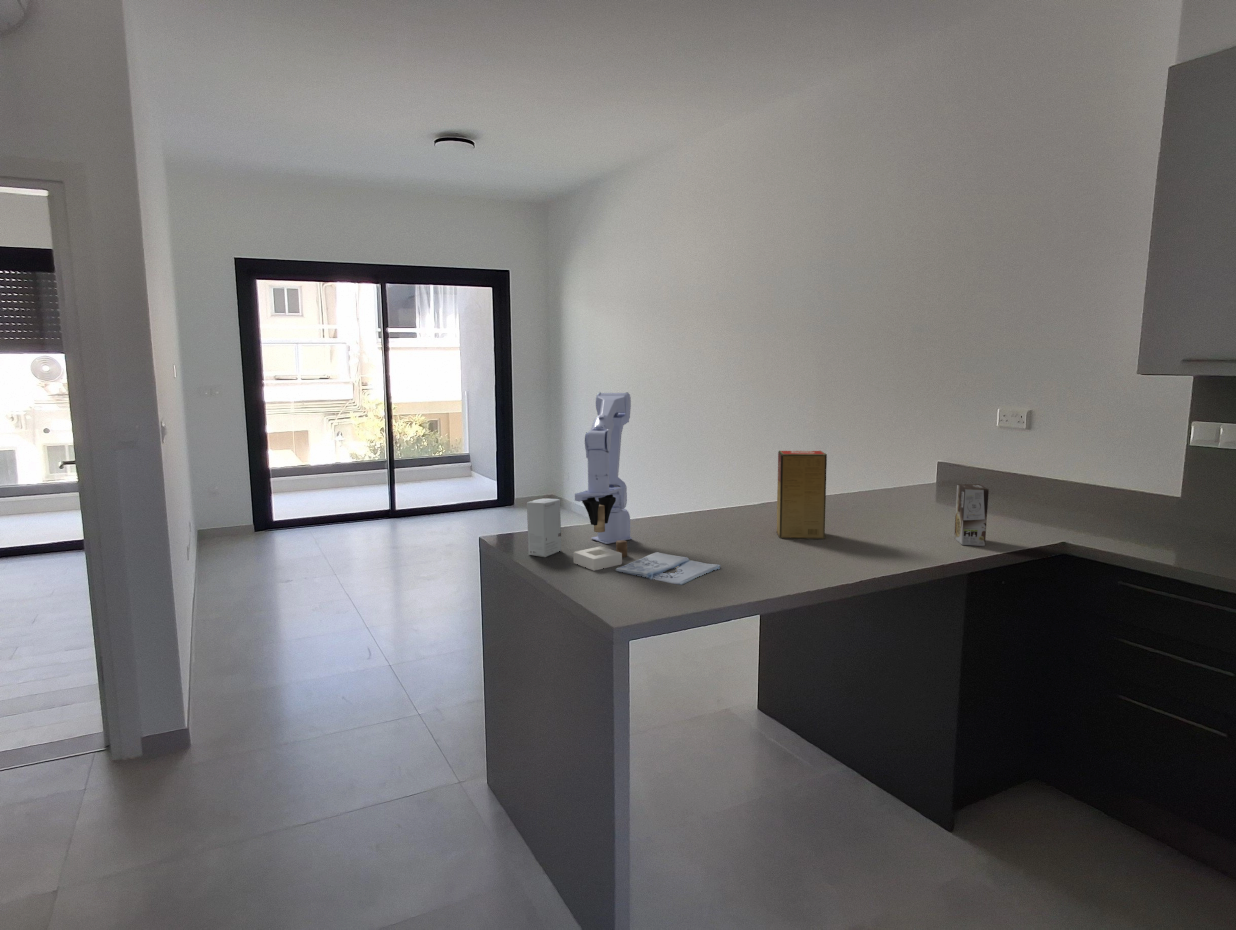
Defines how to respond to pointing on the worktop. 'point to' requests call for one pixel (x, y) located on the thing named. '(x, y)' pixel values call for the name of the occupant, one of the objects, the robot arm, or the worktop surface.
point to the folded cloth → (667, 568)
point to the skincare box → (544, 527)
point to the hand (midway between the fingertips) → (599, 523)
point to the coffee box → (971, 514)
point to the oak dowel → (600, 520)
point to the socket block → (597, 558)
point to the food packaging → (801, 494)
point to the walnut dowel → (622, 547)
